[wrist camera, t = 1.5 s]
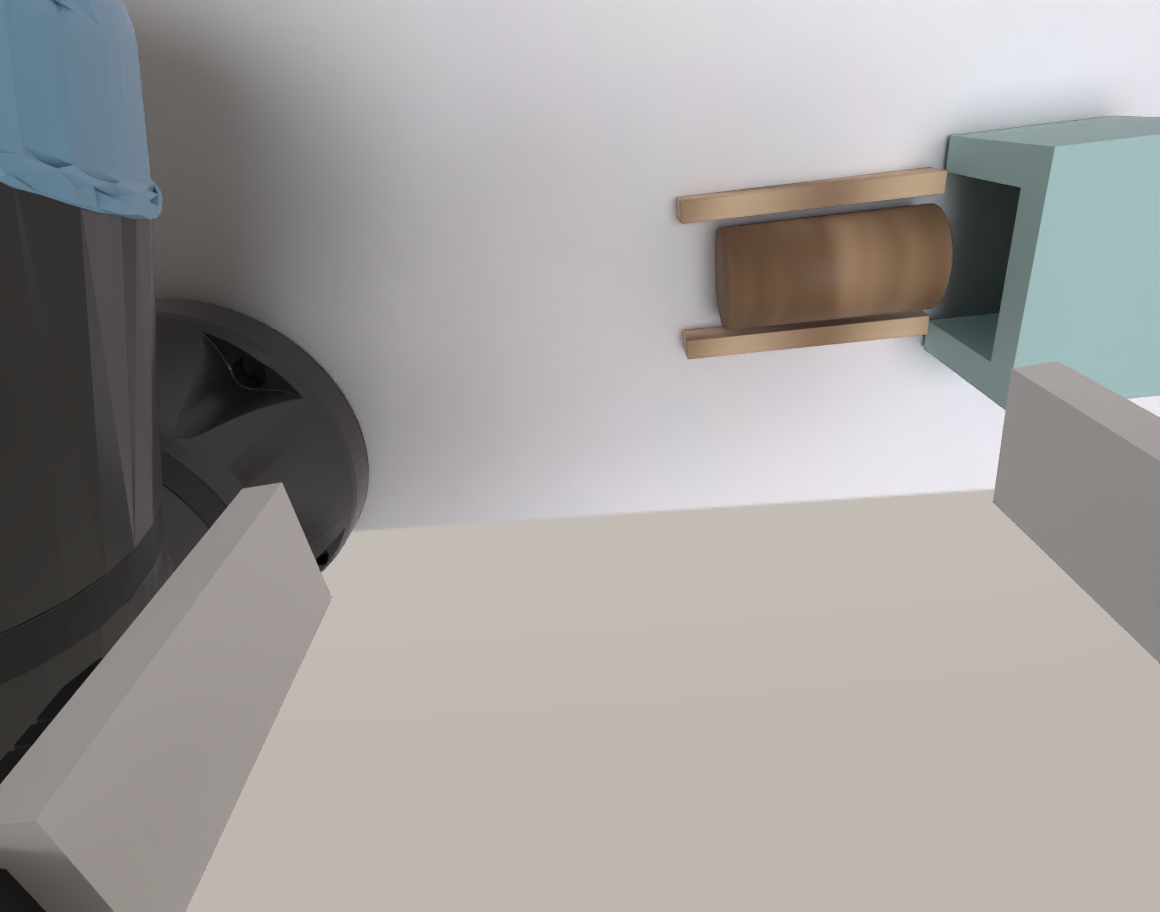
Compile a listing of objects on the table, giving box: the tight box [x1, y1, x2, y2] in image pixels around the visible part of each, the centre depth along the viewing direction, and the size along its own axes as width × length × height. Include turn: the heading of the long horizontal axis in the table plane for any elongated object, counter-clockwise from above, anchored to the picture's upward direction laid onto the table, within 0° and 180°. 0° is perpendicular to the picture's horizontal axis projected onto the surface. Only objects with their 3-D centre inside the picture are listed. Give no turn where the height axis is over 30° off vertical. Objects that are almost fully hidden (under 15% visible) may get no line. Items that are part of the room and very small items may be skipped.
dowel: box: [715, 204, 953, 330], centre depth 27 cm, size 8×4×4 cm, turn 97°
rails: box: [677, 167, 947, 359], centre depth 28 cm, size 10×6×2 cm, turn 97°
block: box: [924, 116, 1160, 410], centre depth 25 cm, size 6×9×7 cm
